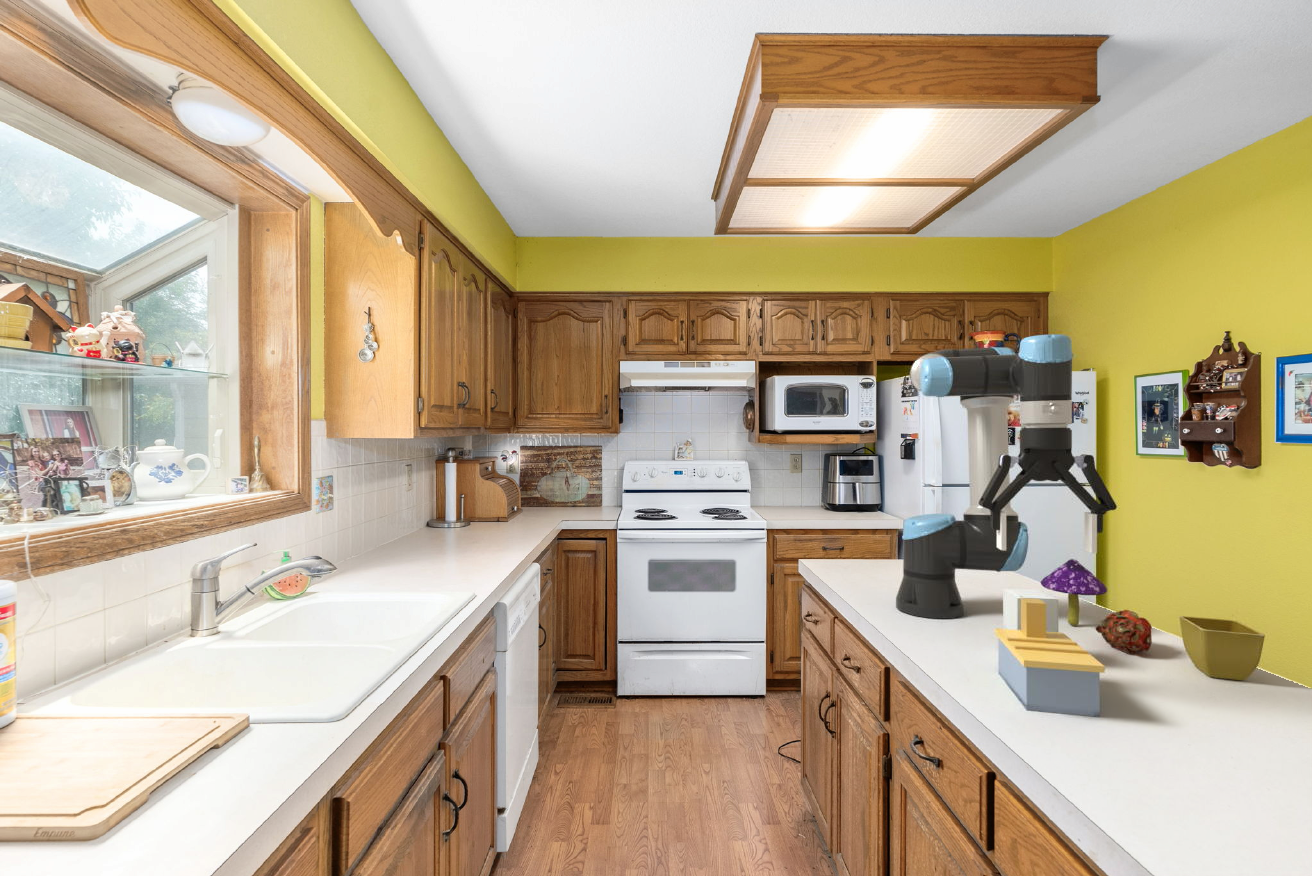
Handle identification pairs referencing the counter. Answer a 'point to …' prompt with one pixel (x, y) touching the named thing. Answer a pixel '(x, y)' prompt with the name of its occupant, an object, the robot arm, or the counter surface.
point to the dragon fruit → (1126, 631)
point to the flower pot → (1222, 646)
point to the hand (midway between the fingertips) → (1045, 550)
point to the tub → (1050, 687)
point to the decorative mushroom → (1073, 585)
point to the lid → (1045, 643)
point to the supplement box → (1014, 608)
